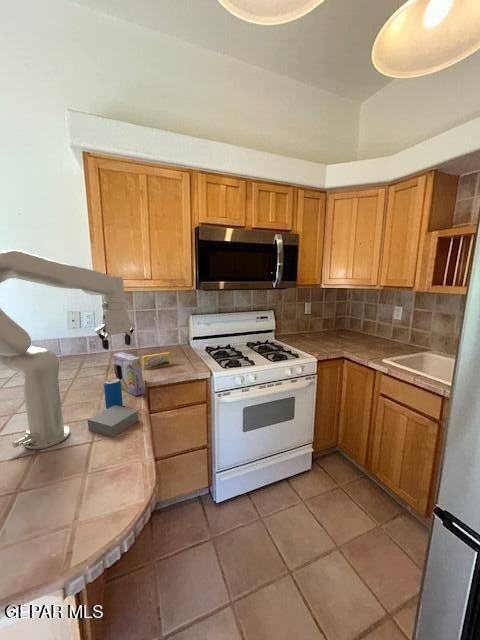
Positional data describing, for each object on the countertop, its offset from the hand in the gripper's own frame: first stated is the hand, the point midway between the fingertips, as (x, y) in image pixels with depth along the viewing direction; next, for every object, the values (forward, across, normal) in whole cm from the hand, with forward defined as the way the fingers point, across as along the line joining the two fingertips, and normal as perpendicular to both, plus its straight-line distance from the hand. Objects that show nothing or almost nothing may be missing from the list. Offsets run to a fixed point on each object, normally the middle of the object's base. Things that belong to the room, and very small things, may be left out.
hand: (117, 346), depth 115 cm
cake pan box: (+25, +11, +10) cm, 29 cm away
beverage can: (+26, -4, -2) cm, 26 cm away
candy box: (+24, +40, +27) cm, 54 cm away
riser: (+26, -11, -14) cm, 31 cm away
